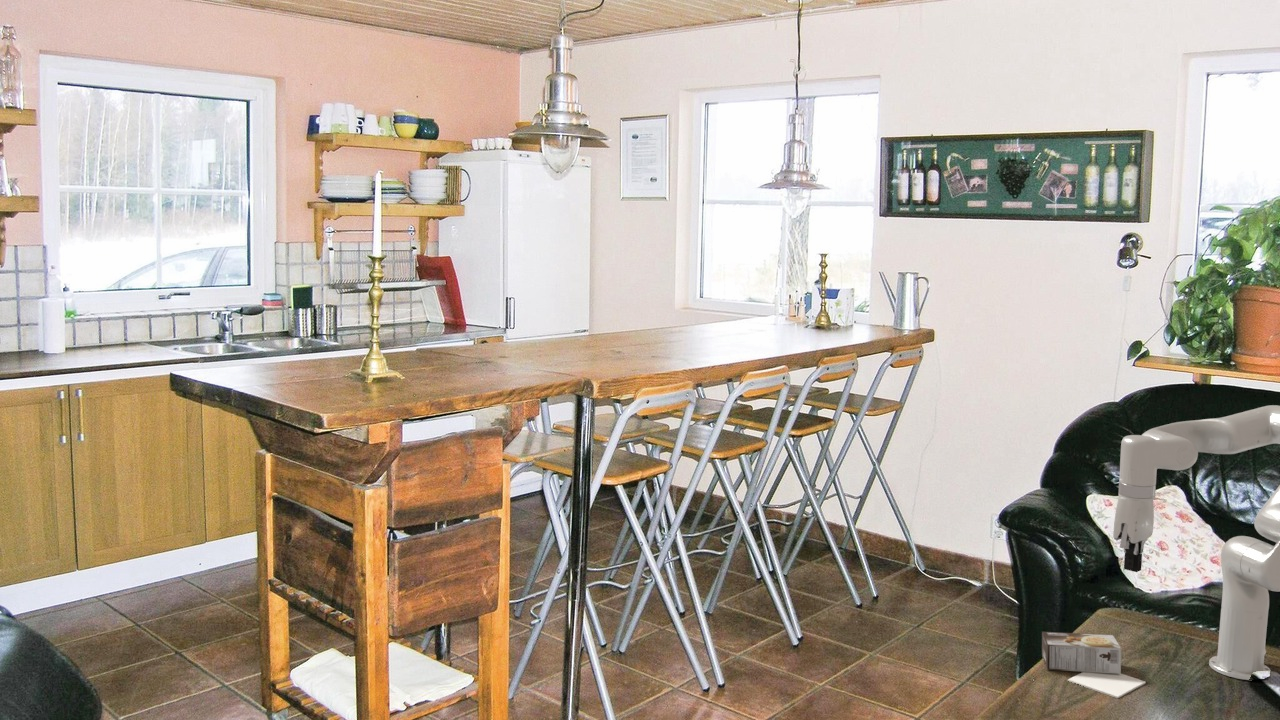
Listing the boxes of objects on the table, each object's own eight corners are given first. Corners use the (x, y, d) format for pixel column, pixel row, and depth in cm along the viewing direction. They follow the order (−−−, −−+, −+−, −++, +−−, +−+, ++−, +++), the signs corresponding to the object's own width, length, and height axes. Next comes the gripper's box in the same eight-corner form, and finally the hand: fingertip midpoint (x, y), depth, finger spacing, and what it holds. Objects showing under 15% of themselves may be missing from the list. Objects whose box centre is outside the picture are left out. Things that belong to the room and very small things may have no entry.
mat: (1096, 667, 255) (1096, 665, 255) (1145, 683, 246) (1145, 681, 246) (1067, 681, 247) (1067, 679, 247) (1117, 698, 238) (1117, 696, 238)
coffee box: (1113, 661, 258) (1041, 656, 261) (1113, 634, 257) (1041, 630, 261) (1121, 674, 249) (1046, 670, 252) (1121, 647, 248) (1047, 643, 252)
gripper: (1136, 482, 252) (1131, 559, 254) (1104, 492, 243) (1100, 572, 245) (1169, 488, 247) (1164, 567, 249) (1137, 499, 237) (1133, 581, 239)
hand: (1132, 569), depth 247 cm, fingers closed
